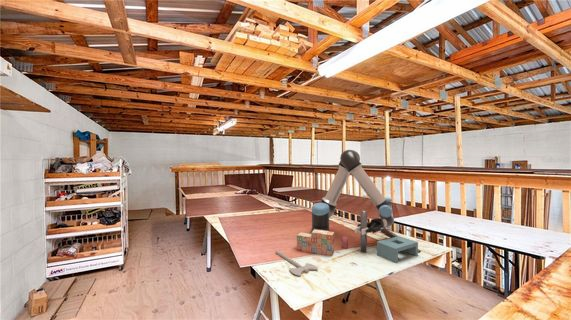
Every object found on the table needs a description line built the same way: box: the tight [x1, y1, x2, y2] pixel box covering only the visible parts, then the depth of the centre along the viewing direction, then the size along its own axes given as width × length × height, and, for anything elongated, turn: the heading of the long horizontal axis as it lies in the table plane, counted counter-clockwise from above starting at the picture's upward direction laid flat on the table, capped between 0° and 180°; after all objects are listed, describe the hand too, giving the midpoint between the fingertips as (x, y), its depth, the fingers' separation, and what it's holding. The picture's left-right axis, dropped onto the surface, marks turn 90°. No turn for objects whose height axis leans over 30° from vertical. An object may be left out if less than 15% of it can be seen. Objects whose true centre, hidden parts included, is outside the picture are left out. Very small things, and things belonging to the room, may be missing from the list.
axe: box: [275, 249, 319, 277], centre depth 128 cm, size 30×14×2 cm, turn 33°
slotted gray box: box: [380, 227, 422, 254], centre depth 161 cm, size 40×2×5 cm, turn 10°
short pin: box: [341, 235, 349, 249], centre depth 149 cm, size 4×4×6 cm
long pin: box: [359, 209, 368, 254], centre depth 142 cm, size 4×4×24 cm
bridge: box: [376, 235, 419, 263], centre depth 137 cm, size 20×12×8 cm, turn 120°
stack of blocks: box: [296, 229, 335, 257], centre depth 143 cm, size 21×6×12 cm, turn 67°
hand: (358, 231), depth 139 cm, fingers closed on long pin, 4 cm apart
